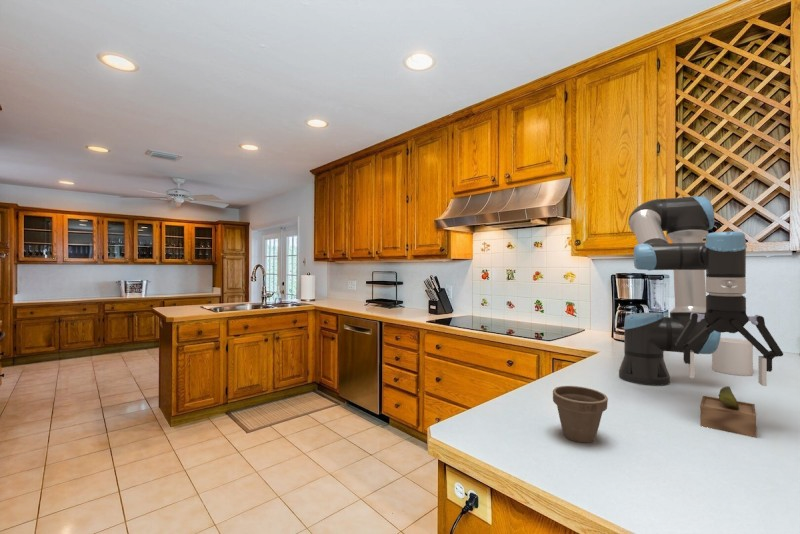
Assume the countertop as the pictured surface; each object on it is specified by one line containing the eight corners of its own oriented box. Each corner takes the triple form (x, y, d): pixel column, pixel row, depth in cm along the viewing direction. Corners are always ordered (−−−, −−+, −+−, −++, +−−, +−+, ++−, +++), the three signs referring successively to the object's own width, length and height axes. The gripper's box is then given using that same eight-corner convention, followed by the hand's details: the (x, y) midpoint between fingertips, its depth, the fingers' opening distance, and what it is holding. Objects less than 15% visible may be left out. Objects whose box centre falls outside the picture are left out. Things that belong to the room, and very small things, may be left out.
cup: (746, 377, 137) (746, 344, 137) (707, 370, 147) (706, 339, 147) (757, 373, 143) (757, 341, 143) (719, 366, 153) (718, 336, 153)
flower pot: (616, 450, 80) (616, 402, 81) (559, 446, 82) (559, 399, 82) (598, 428, 92) (597, 386, 92) (548, 425, 94) (547, 384, 94)
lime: (729, 403, 96) (729, 383, 96) (748, 410, 91) (748, 389, 91) (712, 404, 96) (712, 384, 96) (730, 411, 91) (730, 390, 91)
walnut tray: (700, 427, 93) (700, 405, 94) (703, 416, 101) (702, 395, 101) (756, 439, 87) (756, 415, 87) (754, 426, 94) (754, 404, 94)
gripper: (665, 294, 97) (666, 377, 97) (802, 297, 85) (802, 392, 85) (662, 292, 104) (662, 370, 104) (788, 295, 91) (788, 383, 92)
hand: (725, 380), depth 94 cm, fingers open, 13 cm apart
